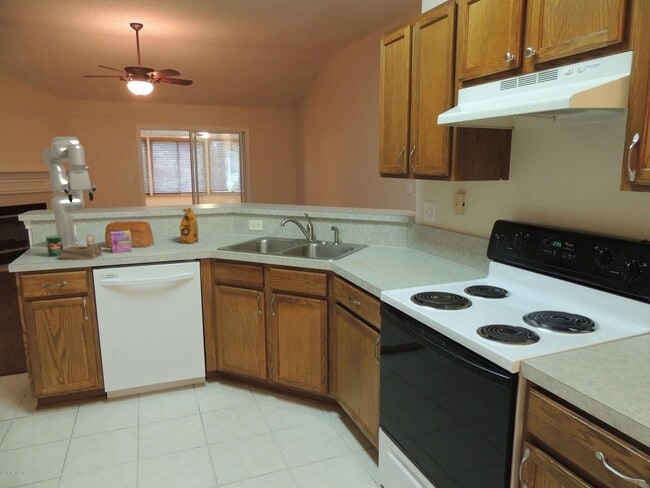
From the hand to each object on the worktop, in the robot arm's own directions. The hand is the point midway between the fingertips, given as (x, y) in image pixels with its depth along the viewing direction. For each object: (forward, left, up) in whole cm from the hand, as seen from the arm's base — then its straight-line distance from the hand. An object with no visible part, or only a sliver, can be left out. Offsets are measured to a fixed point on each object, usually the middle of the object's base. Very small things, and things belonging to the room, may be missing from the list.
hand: (81, 201), depth 240 cm
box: (-18, +11, -31) cm, 38 cm away
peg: (-15, -5, -31) cm, 35 cm away
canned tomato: (-9, -22, -31) cm, 39 cm away
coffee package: (-45, +43, -31) cm, 70 cm away
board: (-4, -5, -31) cm, 32 cm away
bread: (-37, +8, -32) cm, 49 cm away
